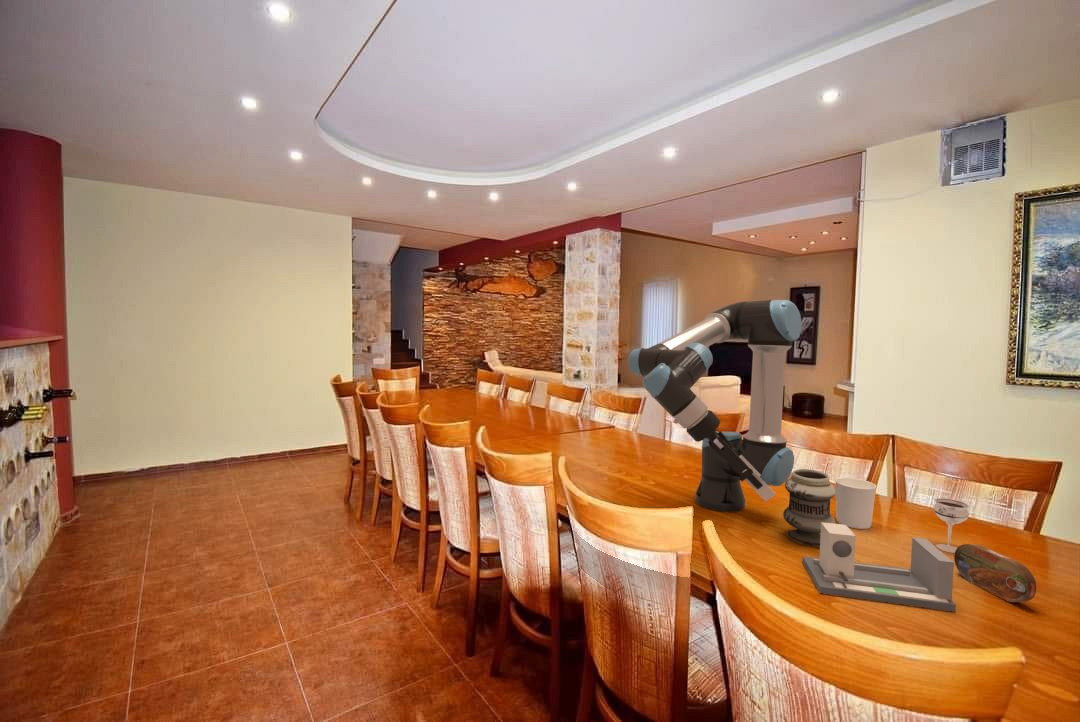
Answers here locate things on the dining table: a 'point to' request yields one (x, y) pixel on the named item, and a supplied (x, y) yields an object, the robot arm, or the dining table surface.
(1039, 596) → the dining table surface
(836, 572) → the gauge carriage
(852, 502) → the candle holder
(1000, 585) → the tin
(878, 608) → the dining table surface
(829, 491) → the apothecary jar
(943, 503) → the wineglass
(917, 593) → the gauge bed
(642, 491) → the dining table surface
